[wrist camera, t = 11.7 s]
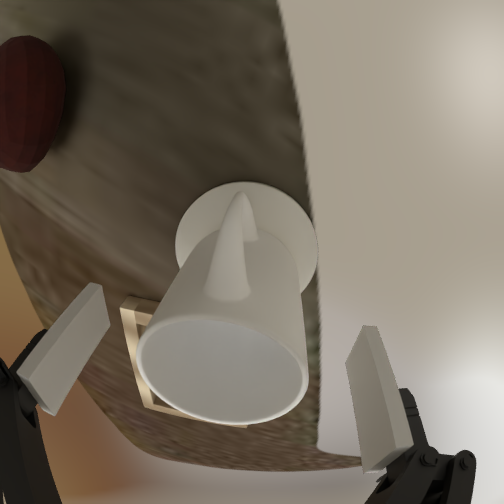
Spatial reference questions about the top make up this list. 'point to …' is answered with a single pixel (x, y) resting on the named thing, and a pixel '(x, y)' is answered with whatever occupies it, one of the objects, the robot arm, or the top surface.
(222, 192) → the plate
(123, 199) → the top surface
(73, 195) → the top surface
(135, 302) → the wooden picture frame
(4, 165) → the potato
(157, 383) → the mug
